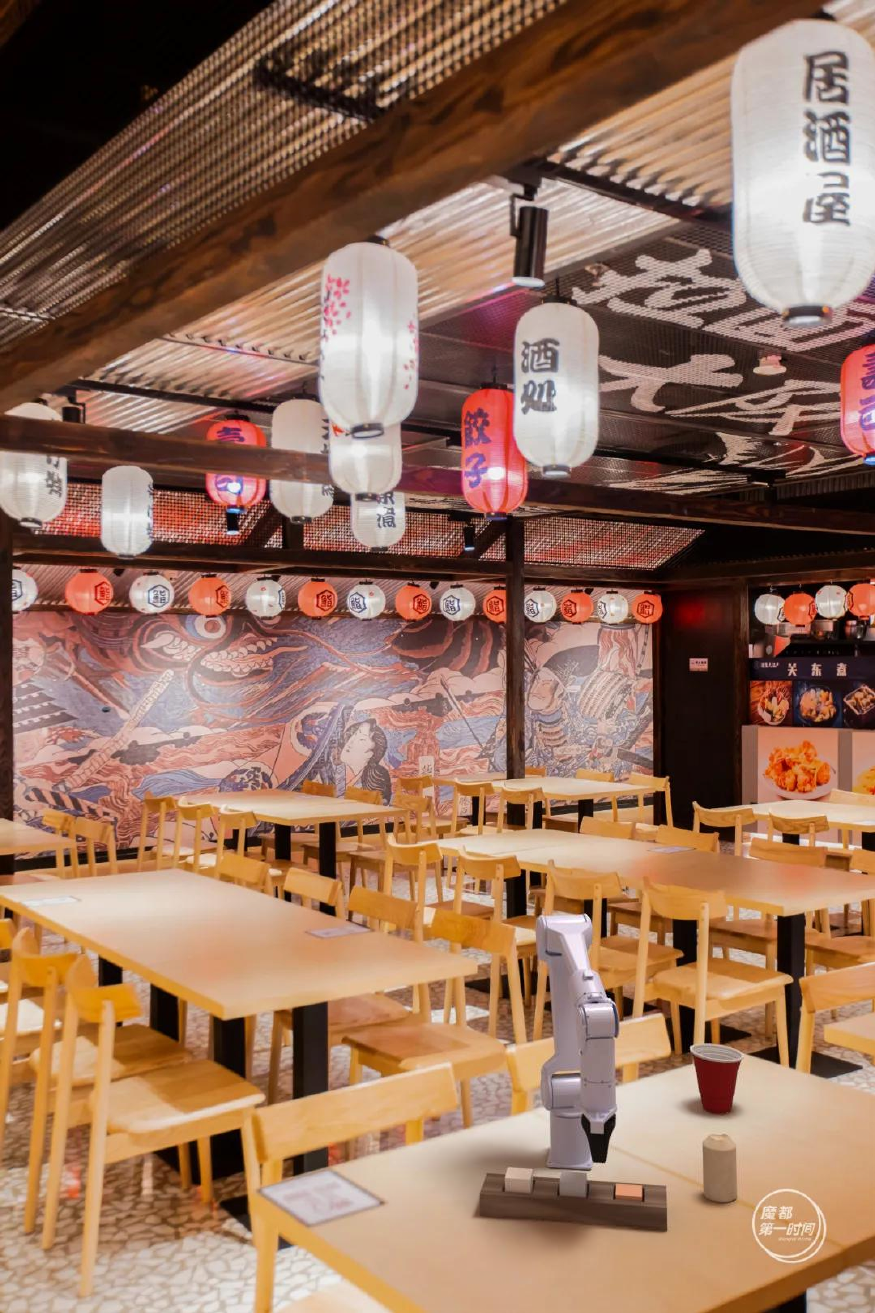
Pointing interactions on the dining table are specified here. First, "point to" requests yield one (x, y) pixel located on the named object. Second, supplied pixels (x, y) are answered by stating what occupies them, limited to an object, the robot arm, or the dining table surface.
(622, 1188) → the orange cube
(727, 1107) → the plastic cup
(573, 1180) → the light gray cube
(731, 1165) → the candle
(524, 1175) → the beige cube
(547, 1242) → the dining table surface
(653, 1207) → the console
